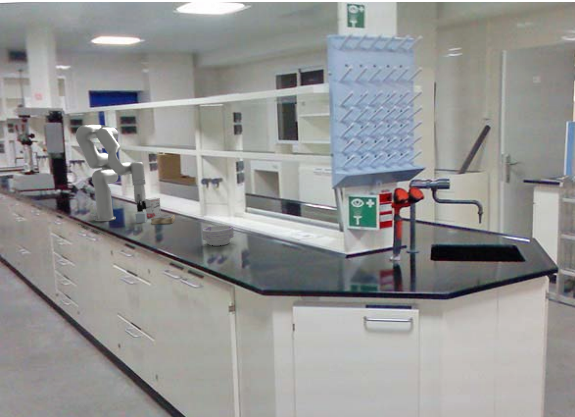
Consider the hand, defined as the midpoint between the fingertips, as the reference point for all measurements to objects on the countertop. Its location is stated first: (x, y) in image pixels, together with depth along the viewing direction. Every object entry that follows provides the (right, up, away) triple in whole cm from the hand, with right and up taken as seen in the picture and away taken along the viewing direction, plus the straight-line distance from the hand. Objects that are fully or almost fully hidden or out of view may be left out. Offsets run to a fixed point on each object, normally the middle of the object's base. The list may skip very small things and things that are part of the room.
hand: (142, 210), depth 339 cm
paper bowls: (+55, -16, -66) cm, 88 cm away
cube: (-1, -7, +1) cm, 7 cm away
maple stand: (+14, -7, -2) cm, 15 cm away
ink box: (+3, -4, +18) cm, 19 cm away
